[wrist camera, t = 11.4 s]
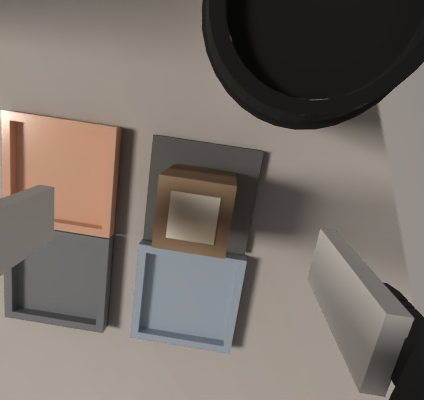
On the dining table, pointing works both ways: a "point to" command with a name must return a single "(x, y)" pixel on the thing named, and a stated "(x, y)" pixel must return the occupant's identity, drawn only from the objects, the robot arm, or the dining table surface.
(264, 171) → the dining table surface
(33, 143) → the tray terracotta
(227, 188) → the letter block
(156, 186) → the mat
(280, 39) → the coffee cup
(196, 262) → the tray slate
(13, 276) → the tray charcoal
